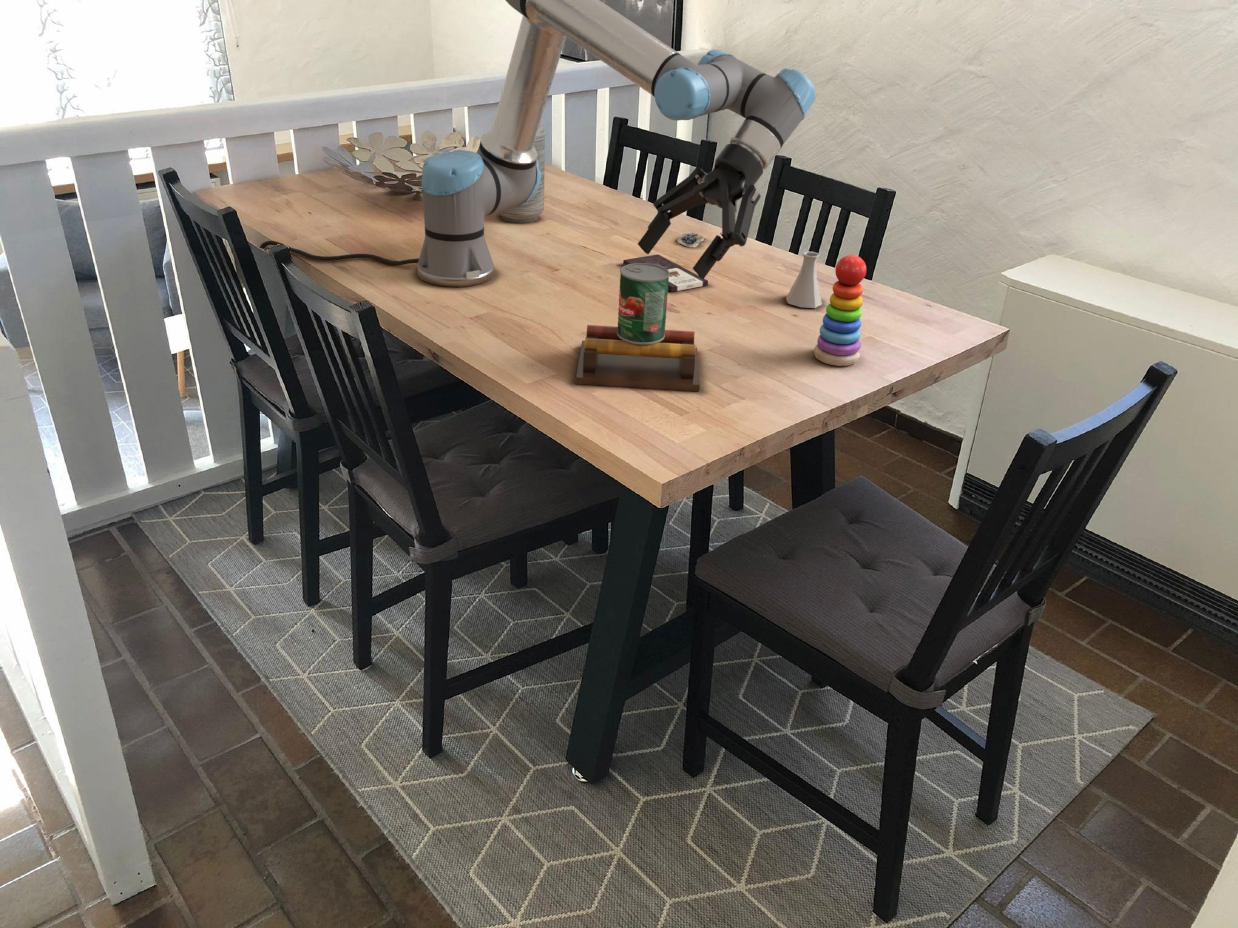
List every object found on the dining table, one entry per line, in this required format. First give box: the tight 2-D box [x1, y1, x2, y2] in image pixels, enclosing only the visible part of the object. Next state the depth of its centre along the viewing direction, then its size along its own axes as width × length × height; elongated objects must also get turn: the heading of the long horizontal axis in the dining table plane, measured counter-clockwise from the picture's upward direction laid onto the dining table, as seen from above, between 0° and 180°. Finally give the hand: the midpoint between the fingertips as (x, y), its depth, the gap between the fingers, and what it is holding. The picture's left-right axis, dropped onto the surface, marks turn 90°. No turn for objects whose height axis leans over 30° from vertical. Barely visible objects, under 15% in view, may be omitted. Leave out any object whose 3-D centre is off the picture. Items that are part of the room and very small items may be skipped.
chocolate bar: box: [622, 253, 709, 293], centre depth 205 cm, size 9×1×18 cm
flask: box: [785, 250, 823, 309], centre depth 194 cm, size 7×7×10 cm
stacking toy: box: [813, 254, 867, 367], centre depth 168 cm, size 8×8×19 cm
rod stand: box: [575, 324, 701, 392], centre depth 164 cm, size 20×15×6 cm
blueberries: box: [676, 232, 707, 248], centre depth 225 cm, size 7×8×2 cm
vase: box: [497, 124, 546, 224], centre depth 229 cm, size 12×12×23 cm
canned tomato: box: [617, 263, 669, 345], centre depth 160 cm, size 8×8×11 cm
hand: (669, 261), depth 159 cm, fingers open, 13 cm apart
